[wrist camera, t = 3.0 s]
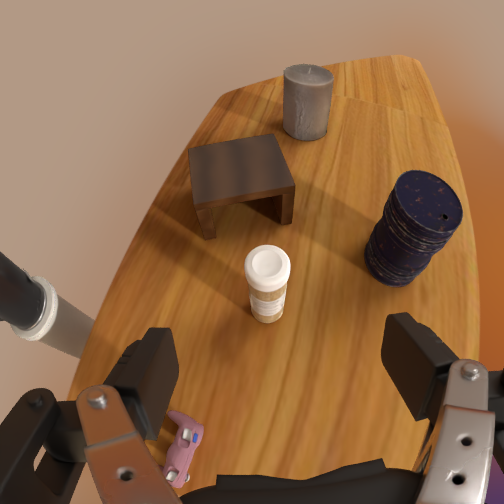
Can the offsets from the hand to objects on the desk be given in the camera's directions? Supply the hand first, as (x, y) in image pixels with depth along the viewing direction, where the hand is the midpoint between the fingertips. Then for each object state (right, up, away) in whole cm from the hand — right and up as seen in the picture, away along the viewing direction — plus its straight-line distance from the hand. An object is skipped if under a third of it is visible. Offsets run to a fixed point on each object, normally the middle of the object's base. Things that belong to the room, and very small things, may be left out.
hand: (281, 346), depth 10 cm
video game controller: (-10, -22, +21) cm, 32 cm away
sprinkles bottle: (+1, -4, +31) cm, 31 cm away
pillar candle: (+10, +30, +50) cm, 59 cm away
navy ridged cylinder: (+21, +2, +33) cm, 40 cm away
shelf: (-3, +12, +40) cm, 42 cm away
